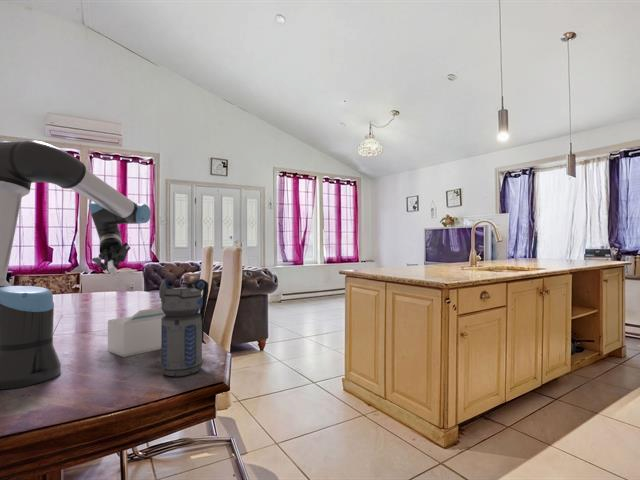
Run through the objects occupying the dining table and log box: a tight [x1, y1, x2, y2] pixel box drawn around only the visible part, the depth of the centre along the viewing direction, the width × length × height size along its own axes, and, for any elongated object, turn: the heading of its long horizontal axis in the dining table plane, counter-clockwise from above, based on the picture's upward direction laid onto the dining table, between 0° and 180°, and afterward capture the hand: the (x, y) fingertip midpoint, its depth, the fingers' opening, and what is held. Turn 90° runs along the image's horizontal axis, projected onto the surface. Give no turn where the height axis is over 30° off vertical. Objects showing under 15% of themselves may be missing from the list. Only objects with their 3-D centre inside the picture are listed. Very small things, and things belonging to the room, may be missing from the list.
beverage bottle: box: [158, 278, 209, 377], centre depth 97 cm, size 10×13×25 cm
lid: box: [125, 307, 165, 324], centre depth 112 cm, size 11×17×1 cm
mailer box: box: [107, 316, 161, 358], centre depth 120 cm, size 12×16×10 cm
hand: (112, 271), depth 117 cm, fingers closed
